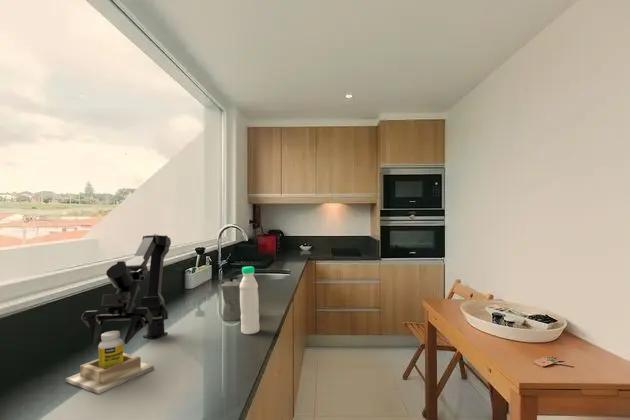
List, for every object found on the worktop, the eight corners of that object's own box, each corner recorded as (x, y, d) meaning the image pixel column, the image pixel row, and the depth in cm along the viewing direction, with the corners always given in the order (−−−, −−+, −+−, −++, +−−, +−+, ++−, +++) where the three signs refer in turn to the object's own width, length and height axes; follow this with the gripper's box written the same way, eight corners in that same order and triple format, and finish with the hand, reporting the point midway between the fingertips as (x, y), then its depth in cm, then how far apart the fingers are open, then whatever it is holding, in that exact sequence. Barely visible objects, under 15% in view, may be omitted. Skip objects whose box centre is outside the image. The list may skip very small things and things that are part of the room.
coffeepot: (249, 318, 152) (248, 277, 152) (230, 323, 146) (229, 280, 146) (231, 312, 163) (230, 274, 164) (213, 316, 157) (212, 276, 157)
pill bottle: (103, 378, 96) (102, 338, 96) (95, 372, 100) (94, 334, 100) (127, 370, 101) (126, 331, 101) (118, 365, 104) (117, 328, 105)
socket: (66, 381, 97) (65, 367, 97) (121, 360, 111) (121, 347, 111) (98, 394, 89) (97, 378, 89) (153, 369, 103) (153, 355, 103)
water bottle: (242, 329, 137) (240, 266, 137) (260, 328, 137) (257, 265, 138) (239, 335, 130) (237, 268, 130) (258, 334, 130) (256, 267, 131)
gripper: (83, 284, 104) (60, 333, 93) (147, 280, 105) (132, 328, 94) (98, 304, 112) (79, 351, 100) (158, 300, 113) (145, 347, 102)
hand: (108, 344), depth 99 cm, fingers open, 9 cm apart
